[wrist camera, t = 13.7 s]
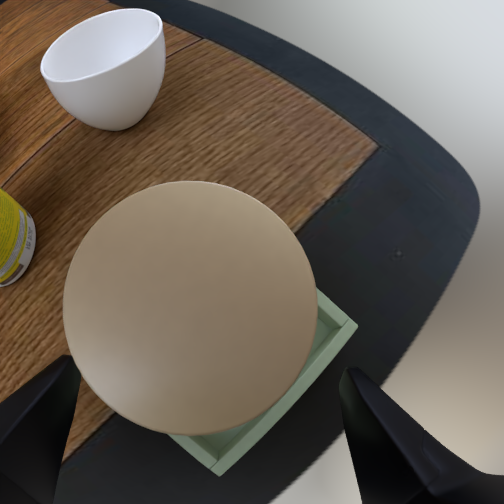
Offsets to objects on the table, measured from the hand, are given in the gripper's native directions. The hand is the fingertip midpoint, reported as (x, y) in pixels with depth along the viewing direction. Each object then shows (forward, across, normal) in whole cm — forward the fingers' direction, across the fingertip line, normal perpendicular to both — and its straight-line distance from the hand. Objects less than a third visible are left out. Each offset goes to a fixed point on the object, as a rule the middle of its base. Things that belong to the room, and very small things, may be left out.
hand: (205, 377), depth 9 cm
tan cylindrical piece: (+5, 0, +2) cm, 5 cm away
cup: (+17, +8, -8) cm, 21 cm away
